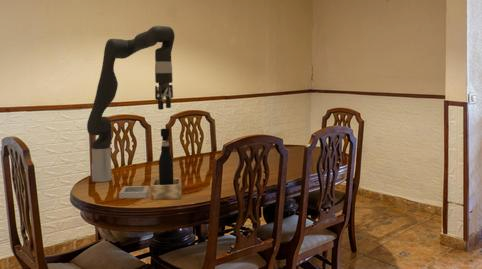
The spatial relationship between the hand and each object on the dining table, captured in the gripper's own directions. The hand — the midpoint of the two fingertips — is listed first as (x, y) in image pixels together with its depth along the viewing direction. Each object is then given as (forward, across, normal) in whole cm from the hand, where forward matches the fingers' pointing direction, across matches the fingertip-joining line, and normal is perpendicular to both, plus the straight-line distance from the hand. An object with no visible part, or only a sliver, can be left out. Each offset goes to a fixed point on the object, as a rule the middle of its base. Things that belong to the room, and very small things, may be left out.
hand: (164, 108), depth 211 cm
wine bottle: (+39, 0, 0) cm, 39 cm away
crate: (+40, 0, 0) cm, 40 cm away
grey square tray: (+40, -2, +15) cm, 43 cm away
